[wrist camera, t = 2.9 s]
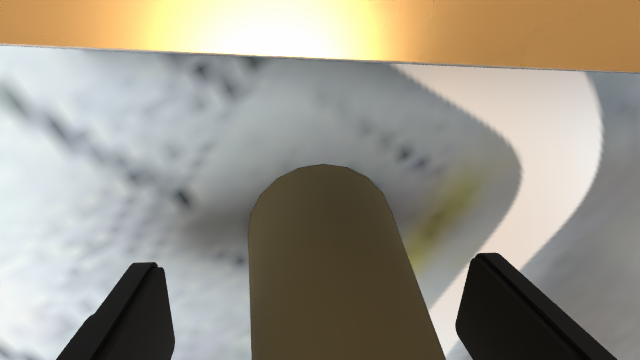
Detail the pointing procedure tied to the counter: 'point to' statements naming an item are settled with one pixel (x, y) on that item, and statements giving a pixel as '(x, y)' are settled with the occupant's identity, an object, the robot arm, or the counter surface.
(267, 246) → the olive rounded tall piece
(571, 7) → the grey open box
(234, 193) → the counter surface
